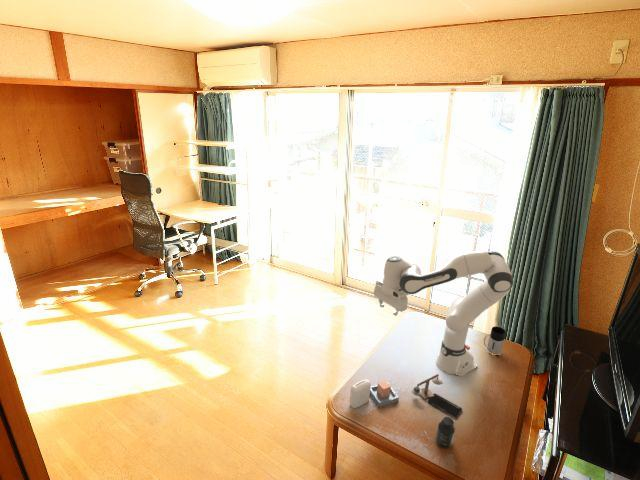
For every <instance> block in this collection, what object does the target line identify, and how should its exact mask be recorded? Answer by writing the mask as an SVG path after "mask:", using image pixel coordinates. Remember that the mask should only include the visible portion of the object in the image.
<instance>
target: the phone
mask: <svg viewBox="0 0 640 480" xmlns="http://www.w3.org/2000/svg"><path fill="white" fill-rule="evenodd" d="M433 394H434V397H430V398H429V399H427V401H426V402H427V404H429V405H430V406H432V407H434V408H435V409H437V410H439V411H440V412H442V413H444V414H446V415H448V417H450V418H451V419H453V420H454V419H456V420H457V419H458V418H459V416H461V414H462V413H463V408H462V407H460V406H458V405H457V404H455V403H454V402H451V401H450V400H448V399H446V398H444V397H443V396H441V395H440V394H437V393H435V392H434V393H433Z"/></svg>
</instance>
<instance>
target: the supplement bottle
mask: <svg viewBox="0 0 640 480" xmlns="http://www.w3.org/2000/svg"><path fill="white" fill-rule="evenodd" d="M454 424H455V422H454V419H453V418H452V417H450V416H443V417H442V419H441V421H439V422H438V424H437V429H436V434H435V442H436V444H437V446H439V447H440V448H442V449H449V448H451V447H452V444H453V440H454V436H455V433H456V432H455V431H456V428H455V426H454Z"/></svg>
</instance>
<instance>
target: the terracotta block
mask: <svg viewBox="0 0 640 480" xmlns="http://www.w3.org/2000/svg"><path fill="white" fill-rule="evenodd" d="M387 382H388V381H387V380H382V381H380V382H378V383H377V385H378V387H377V393H378V395H379V396H380V397H381V398H382V399H383V398H386V397H388V396H390V389H391V387H392V386H391V385H390V383H389V382H388V383H389V384H388V383H387Z"/></svg>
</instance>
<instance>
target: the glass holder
mask: <svg viewBox="0 0 640 480" xmlns="http://www.w3.org/2000/svg"><path fill="white" fill-rule="evenodd" d="M490 330H491V331H490V334H489V333H488V334H486V335H485V336H484V339H483V345H484V346H485V348H487V350H488V351H489V352H491V353H493V354H499V353H502V350H503V346H504V342H505V338H506V333H507V331H506V330H505V328H503V327H500V326H496V325H495V326H492V327H491V329H490ZM487 337H489V338H488V342H487V345H486V339H487Z"/></svg>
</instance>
